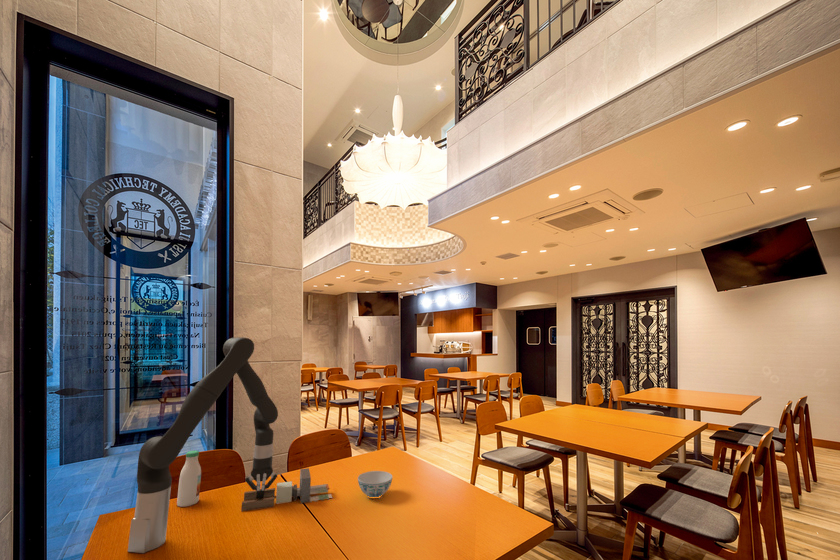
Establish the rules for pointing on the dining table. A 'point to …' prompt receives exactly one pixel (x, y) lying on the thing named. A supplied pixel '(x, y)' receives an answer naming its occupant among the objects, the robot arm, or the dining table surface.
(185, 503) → the milk bottle
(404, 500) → the dining table surface
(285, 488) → the block
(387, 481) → the chinaware
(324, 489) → the plunger
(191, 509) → the dining table surface
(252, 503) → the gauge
